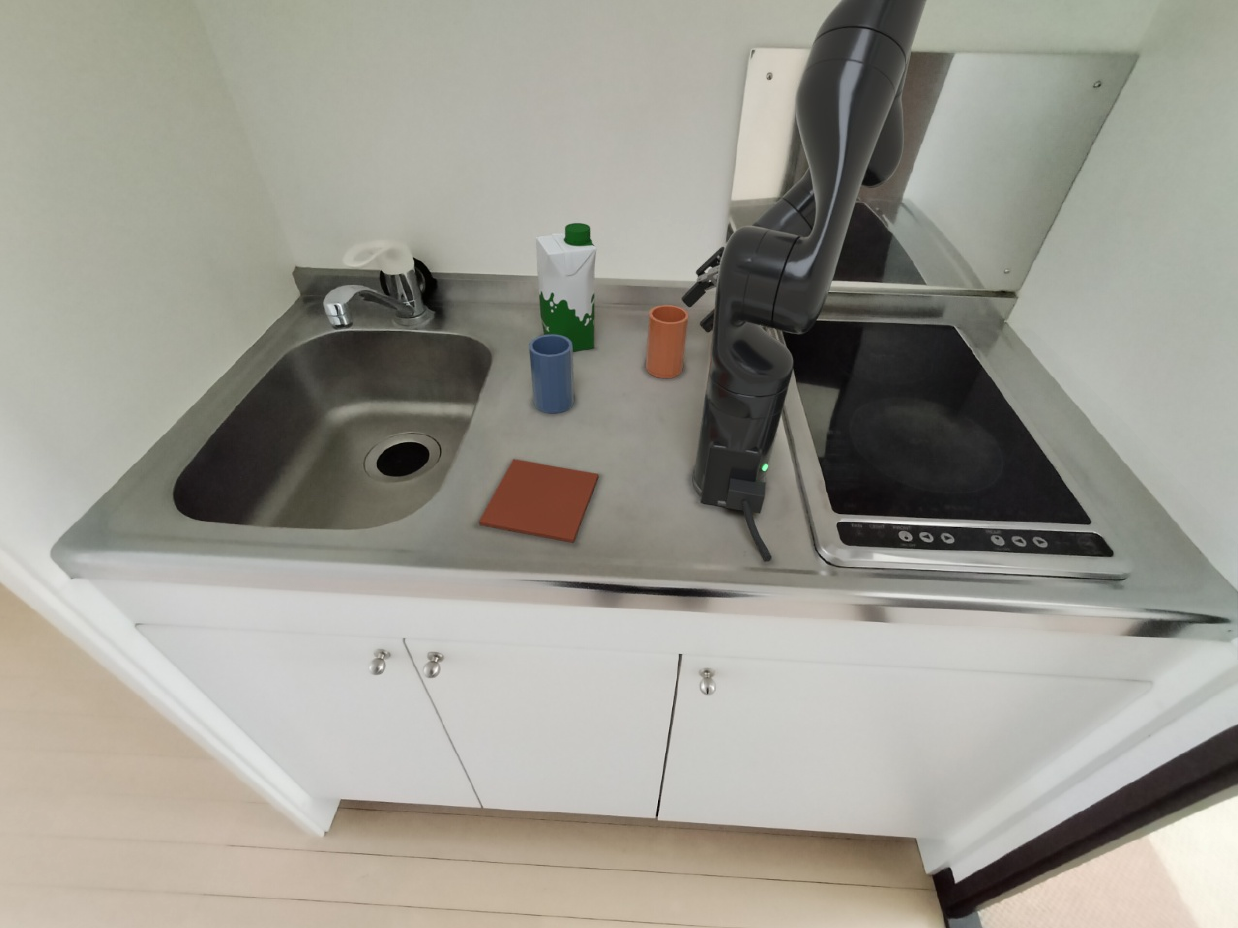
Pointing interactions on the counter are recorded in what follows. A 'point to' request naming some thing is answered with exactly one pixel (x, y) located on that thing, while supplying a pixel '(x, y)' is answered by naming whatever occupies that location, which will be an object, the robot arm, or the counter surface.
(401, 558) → the counter surface
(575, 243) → the milk carton
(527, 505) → the clay mat
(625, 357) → the counter surface
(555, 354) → the blue cup
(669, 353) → the clay cup
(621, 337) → the counter surface
